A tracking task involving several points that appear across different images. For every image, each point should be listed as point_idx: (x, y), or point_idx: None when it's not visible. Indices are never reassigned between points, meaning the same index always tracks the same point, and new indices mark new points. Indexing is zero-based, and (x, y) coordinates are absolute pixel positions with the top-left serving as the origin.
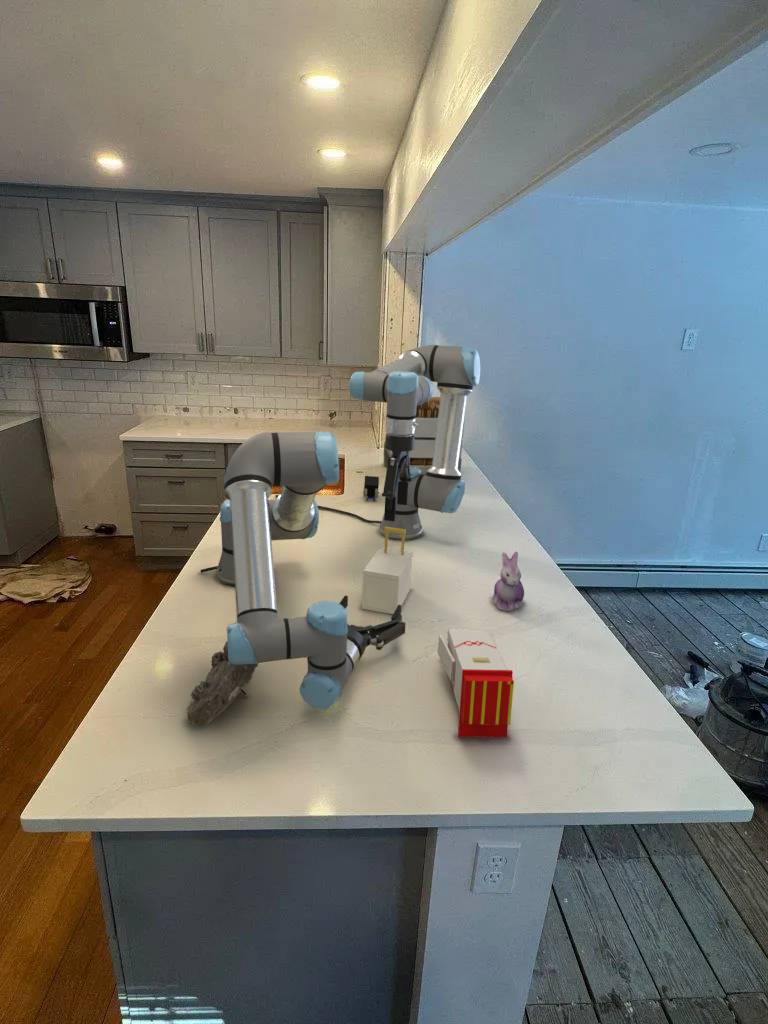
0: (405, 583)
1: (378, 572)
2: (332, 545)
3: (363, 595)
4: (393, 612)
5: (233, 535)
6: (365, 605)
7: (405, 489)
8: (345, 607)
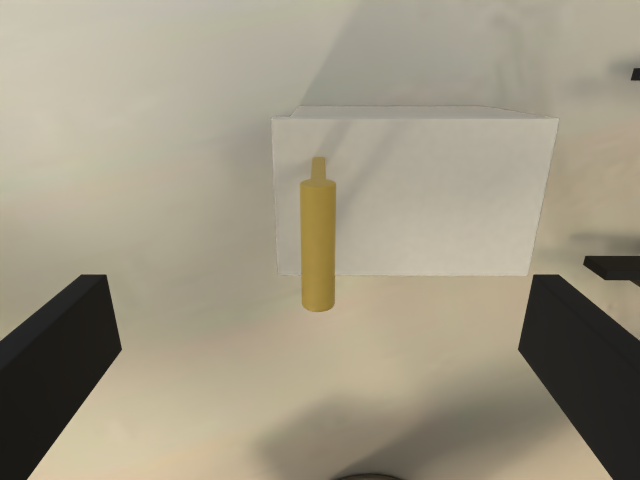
0: (390, 110)
1: (537, 214)
2: (100, 412)
3: None
4: None
5: None
6: None
7: (1, 397)
8: (609, 257)
